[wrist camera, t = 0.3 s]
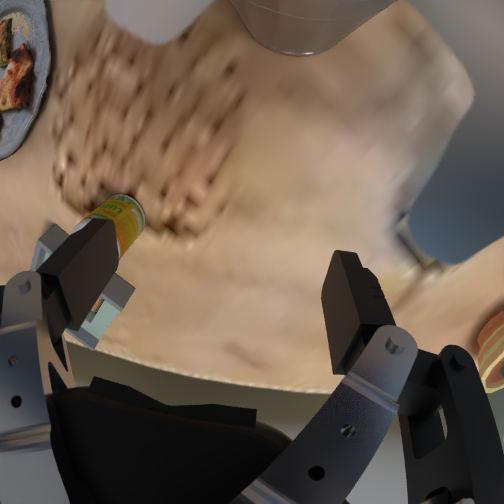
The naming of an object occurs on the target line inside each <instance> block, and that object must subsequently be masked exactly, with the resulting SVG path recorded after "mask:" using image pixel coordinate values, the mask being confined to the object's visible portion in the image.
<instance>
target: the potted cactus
mask: <svg viewBox="0 0 504 504" xmlns="http://www.w3.org/2000/svg"><path fill="white" fill-rule="evenodd" d="M477 341H478V345H479V347H480V350H479V355H478V364H479V375H480V378H481V380H482V383H483V386H484V389H485V391H486V393H491V392H494V391H497V390H499V389H501V388H503V387H504V311H501V312H499V313H498V314H497V315H495V316H494V317H493V318H491V319H490V320H489V321H488V323H487V324H486V325H485V326H484V327H483V328H482V330H481V332H480V334H479V336H478V339H477ZM503 442H504V436H503Z"/></svg>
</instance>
